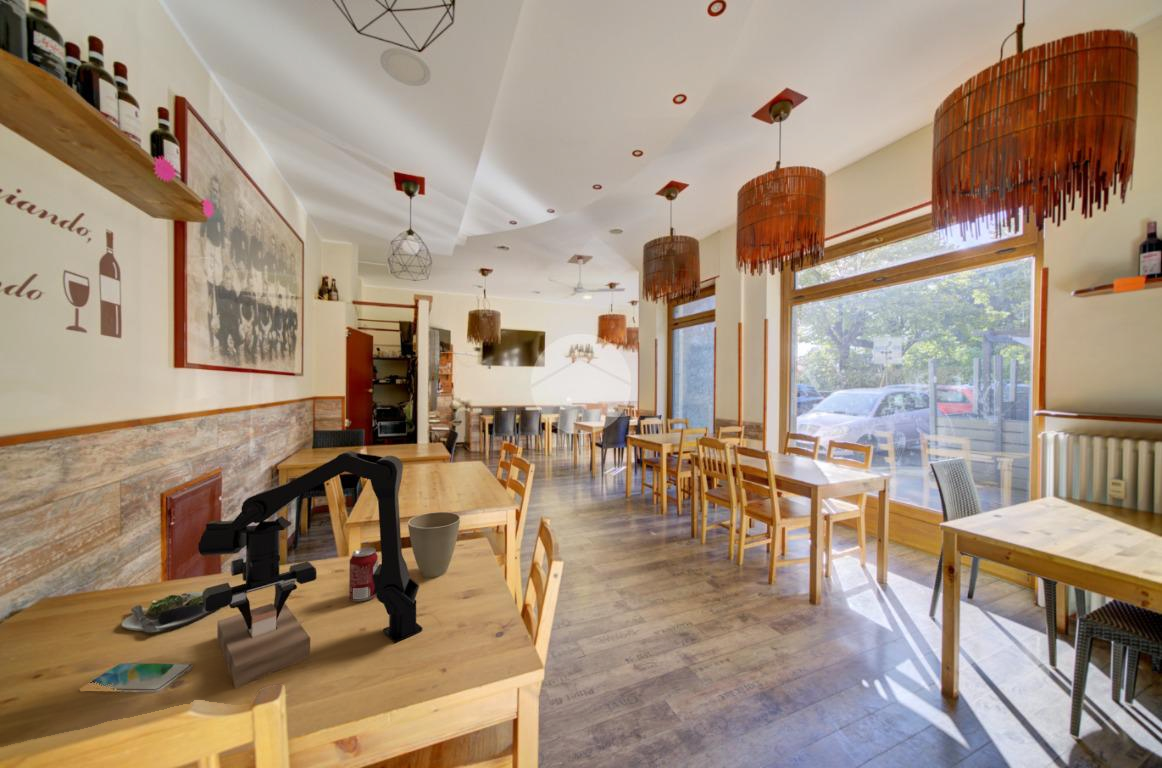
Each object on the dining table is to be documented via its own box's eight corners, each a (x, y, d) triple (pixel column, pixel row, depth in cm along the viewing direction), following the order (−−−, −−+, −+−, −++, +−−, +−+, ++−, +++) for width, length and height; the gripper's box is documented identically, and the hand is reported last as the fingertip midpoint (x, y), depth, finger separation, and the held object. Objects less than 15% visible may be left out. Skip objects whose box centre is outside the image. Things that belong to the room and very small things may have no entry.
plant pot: (395, 578, 121) (396, 523, 121) (432, 558, 135) (433, 509, 135) (435, 588, 115) (436, 530, 115) (470, 566, 129) (470, 515, 129)
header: (310, 657, 86) (310, 637, 86) (234, 688, 77) (235, 666, 77) (282, 617, 100) (283, 600, 100) (217, 639, 92) (217, 621, 92)
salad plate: (90, 633, 94) (90, 613, 94) (177, 594, 112) (177, 577, 112) (161, 642, 91) (161, 621, 91) (239, 600, 109) (240, 583, 109)
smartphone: (157, 690, 76) (76, 689, 76) (157, 695, 76) (76, 694, 76) (194, 663, 83) (120, 662, 83) (195, 667, 83) (120, 666, 83)
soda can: (369, 603, 107) (370, 556, 107) (343, 603, 107) (344, 556, 107) (382, 590, 114) (383, 546, 114) (358, 590, 114) (358, 546, 114)
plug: (276, 646, 89) (276, 609, 89) (252, 655, 86) (252, 617, 86) (271, 638, 91) (272, 603, 91) (248, 647, 88) (248, 610, 88)
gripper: (303, 531, 101) (302, 595, 101) (199, 553, 87) (198, 628, 87) (317, 542, 94) (316, 612, 93) (206, 569, 80) (205, 650, 80)
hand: (262, 624), depth 89 cm, fingers closed on plug, 4 cm apart
